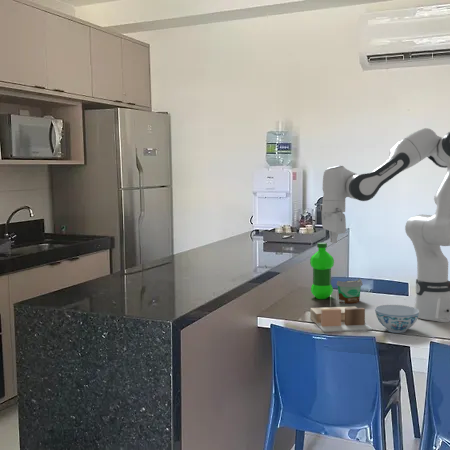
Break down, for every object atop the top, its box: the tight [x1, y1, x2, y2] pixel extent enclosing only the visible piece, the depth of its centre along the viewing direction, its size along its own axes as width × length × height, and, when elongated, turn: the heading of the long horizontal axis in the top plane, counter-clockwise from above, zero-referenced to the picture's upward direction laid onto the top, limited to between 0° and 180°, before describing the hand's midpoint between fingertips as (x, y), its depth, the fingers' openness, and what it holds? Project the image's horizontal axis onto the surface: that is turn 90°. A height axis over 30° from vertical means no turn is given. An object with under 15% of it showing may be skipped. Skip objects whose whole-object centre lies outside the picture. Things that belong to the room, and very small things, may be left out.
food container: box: [336, 278, 363, 305], centre depth 236 cm, size 12×6×10 cm, turn 114°
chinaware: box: [374, 304, 419, 334], centre depth 195 cm, size 15×15×8 cm
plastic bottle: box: [309, 242, 335, 300], centre depth 247 cm, size 10×10×25 cm
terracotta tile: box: [321, 309, 341, 326], centre depth 201 cm, size 7×6×2 cm
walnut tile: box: [345, 307, 366, 326], centre depth 202 cm, size 7×6×2 cm
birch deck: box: [309, 305, 358, 324], centre depth 210 cm, size 18×9×4 cm, turn 96°
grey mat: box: [315, 322, 374, 333], centre depth 200 cm, size 18×10×1 cm, turn 96°
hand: (333, 242), depth 215 cm, fingers closed
